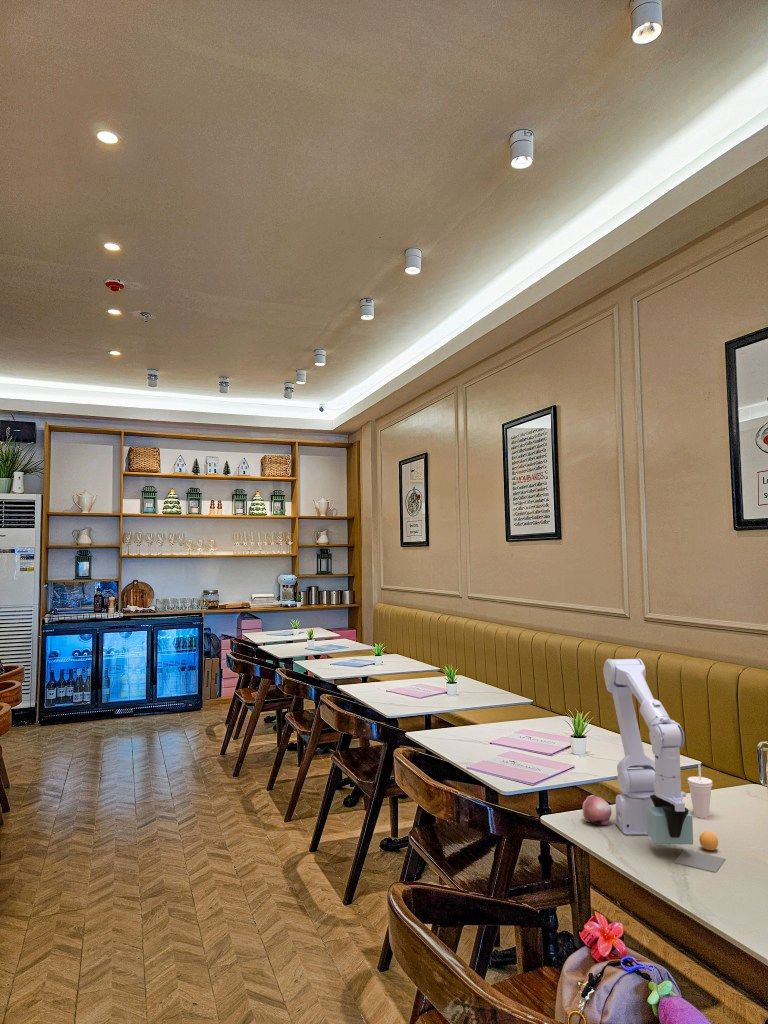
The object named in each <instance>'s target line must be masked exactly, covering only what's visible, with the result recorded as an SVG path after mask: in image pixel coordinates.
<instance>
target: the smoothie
mask: <svg viewBox="0 0 768 1024" xmlns="http://www.w3.org/2000/svg"><path fill="white" fill-rule="evenodd" d="M697 767H698V776H689V777H687V784H688V787H689V793H690V799H691V804H692V810H693V816H694V817H696V818H699V817H700V818H699V819H707V817H708V818H709V817H710V806H711V805H710V804H711V794H712V786H713V780H712V779H710V778H707V777H703V776H702V768H701V764H700V763H698V766H697Z"/></svg>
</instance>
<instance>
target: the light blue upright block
mask: <svg viewBox="0 0 768 1024" xmlns="http://www.w3.org/2000/svg"><path fill="white" fill-rule="evenodd" d="M693 826H694V825H693V815H692V814H691V813H690V812H689V813H688V814H687V816H686V818H685V820H684V822H683V826H682V830H681V835H680V838H671V837H670V834H669V830H668V823H667V819H666V815H665V813H664V811H663V809H662V807H647V835H648V837H649V838H650V839H651V840H652V842H653V843H655V844H656V845H694V832H693V831H694V830H693V829H694V828H693ZM647 835H646V836H647Z"/></svg>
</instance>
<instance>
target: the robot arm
mask: <svg viewBox="0 0 768 1024" xmlns="http://www.w3.org/2000/svg"><path fill="white" fill-rule="evenodd" d="M602 672H603V677H604V683H605V686H606V690H607V692H609V693H610V694H612V699H613V704H614V709H615V713H616V717H617V718H616V719H617V723H618V728H619V733H620V737H621V742H622V747H623V753H624V756H623V758H622V759H621V760H620V761H619V762H618V763H617V765H616V771H617V772H616V773H617V776H616V777H617V779H616V781H617V784H618V788H619V790H620V791H621V792H622V793H621V794H616V796H615V817H616V818H615V824H616V826H617V827H618V829H619V830H620V831H621V832H622V833H623V834H624V835H628V836H629V835H631V836H633V835H636V836H637V835H646V836H647V807H662V809H663V811H664V813H665V815H666V819H667V823H668V830H669V834H670V837H671V838H680V835H681V830H682V826H683V822H684V820H685V818H686V816H687V814H688V813H690V810H689V808H687V807H686V805H685V802H684V800H683V798H687V793H686V792H685V791H682V781H681V780H682V778H681V753H680V752H681V749H680V748H683V747H684V744H685V733H684V730H683V728H682V726H681V725H680V723H678V722H676V721H675V720H674V719H671V718H670V716H669V714H668V712H667V711H666V708H665V706H663V704H662V703H661V701H660V700H658V699H655V698H654V696H653V694H652V691H651V690H650V688H649V685H648V682H647V681H646V674H647V671H646V665H645V664H644V662H643V661H642V659H641V658H638V657H637V658H624V659H623V658H621V659H620V658H619V659H618V658H617V659H612V658H607V659H606V660H605V662H604V665H603V669H602ZM633 696H634V697H635V698H636V700H637V702H639V704H640V707H639V713H640V715H641V716H642V718H643V721H644V722H645V724H646V726H647V728H648V730H649V733H648V735H649V736H648V737H649V741H650V744H651V751H652V754H653V755H654V760H653V759H652V758H650V757H648V755H646V754H645V751H644V746H643V742H642V737H641V732H640V728H639V723H638V719H637V715H636V714H637V713H636V710H635V705H634V701H633Z"/></svg>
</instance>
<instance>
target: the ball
mask: <svg viewBox="0 0 768 1024" xmlns="http://www.w3.org/2000/svg"><path fill="white" fill-rule="evenodd" d="M718 839H719V838H718V837H717V835H715V834H714V833H713V832H712V831H703V832H701V833H700V834H699V838H698V841H699V844H700V845H701V847H702V848H703V849H705V850H706V851H714V850H716V849H717V847H718V846H719V840H718Z"/></svg>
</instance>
